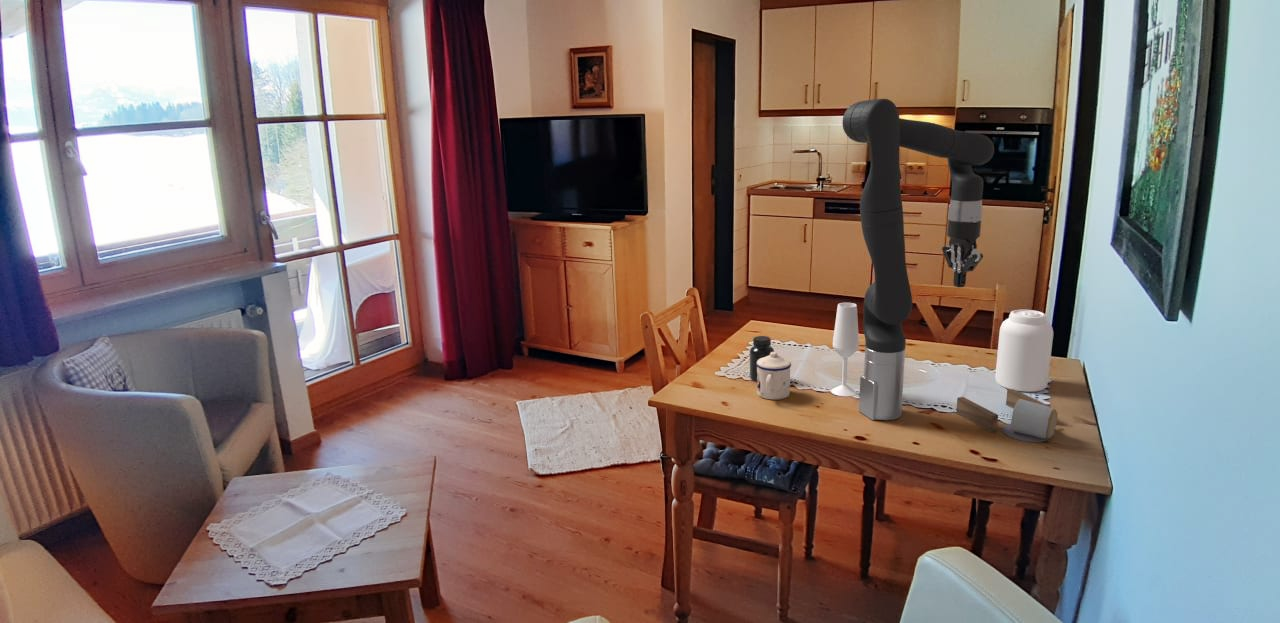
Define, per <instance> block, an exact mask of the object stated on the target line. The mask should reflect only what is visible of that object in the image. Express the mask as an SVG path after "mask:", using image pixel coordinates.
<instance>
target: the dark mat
mask: <svg viewBox="0 0 1280 623" xmlns="http://www.w3.org/2000/svg"><path fill="white" fill-rule="evenodd" d="M1001 432H1003V434H1004V435H1006V436H1007V437H1009V438H1012V439H1014V440H1018V441H1022V442H1027V443H1029V442H1030V443H1042V442H1047V441H1049V440H1050V439H1051V438H1048V439H1045V438H1039V437H1035V436H1030V435H1026V434H1022V433H1017V432H1013V431H1012V430H1011V423H1007V424H1004V425H1003V426H1002V429H1001Z"/></svg>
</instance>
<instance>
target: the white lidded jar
mask: <svg viewBox="0 0 1280 623" xmlns="http://www.w3.org/2000/svg"><path fill="white" fill-rule="evenodd" d="M1047 320H1048V319H1047V315H1046V313H1044V312H1042V311H1038V310H1033V309H1026V308H1025V309H1024V308H1023V309H1014V310H1011V311H1010V313H1009V315H1008V318H1006V319H1005V320H1003V321H1002V323H1001V325H1000V327H999V333H998V335H999V336H998V345H997V346H998V347H997V355H996V365H995V377H994V378H995V382H996V384H998V386H1000V387H1002V388H1005V389H1007V390H1009V389H1014V390H1016V391H1018V392H1027V393H1030V392H1031V393H1033V392H1041V391H1043V390H1045V389H1046V388H1047V386H1048V381H1049V373H1050V366H1051V365H1050V364H1051V356H1052V350H1053V349H1052V348H1053V340H1054V329H1053V326H1052V325H1051V324H1050V322H1049V321H1047Z"/></svg>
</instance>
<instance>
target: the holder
mask: <svg viewBox="0 0 1280 623" xmlns="http://www.w3.org/2000/svg"><path fill="white" fill-rule="evenodd" d="M1005 399H1006V400H1005V405H1006V406H1007V407H1009V408H1011V409H1014V407H1015V405H1016V403H1017V401H1018V400H1019V399H1023V400H1027V401H1030V402H1033V403H1037V404H1040V405H1044V406H1048V407H1051V405H1049V404H1047V403H1044V402H1041V401H1040V400H1038V399H1035V398H1033V397H1032V396H1029V395H1027V394H1025V393H1022V391H1016V390H1014V389H1007V390H1006V398H1005ZM955 410H956V411H955V412H956V414H958V415H959V416H961V417H963V418H965V419H966V420H968V421H970V422H972V423H974V424H975V425H977V426H979V427H980V428H983V429H984V430H987V431H988V432H989V433H993V432H994V433H995V432H997V431H998V423H999V422H998V420H999V414H997V413H996V412H993V411H991V410H989V409H987V408H985V407H983V406H981V405H980V404H978V403H976V402H974V401H972V400H970V399H968V398H966V397H965V396H959V397H957V398H956V409H955Z"/></svg>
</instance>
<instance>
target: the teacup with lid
mask: <svg viewBox="0 0 1280 623" xmlns="http://www.w3.org/2000/svg"><path fill="white" fill-rule="evenodd" d="M756 365H757V382H756V393H757V396H759V397H760V398H763V399H766V400H771V401H772V400H773V401H774V400H775V401H776V400H783V399H786V398H788V397H789V396H790V394H791V393H790V392H791V389H790V388H791V367H792V363H791V361H790V360H789V359H787V358H785V357H782V356H781V355H778V352H776V351H774V352H771V353H770V355H769V356H766V357H763V358H760V359H759V360H758V361H757V363H756Z"/></svg>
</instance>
